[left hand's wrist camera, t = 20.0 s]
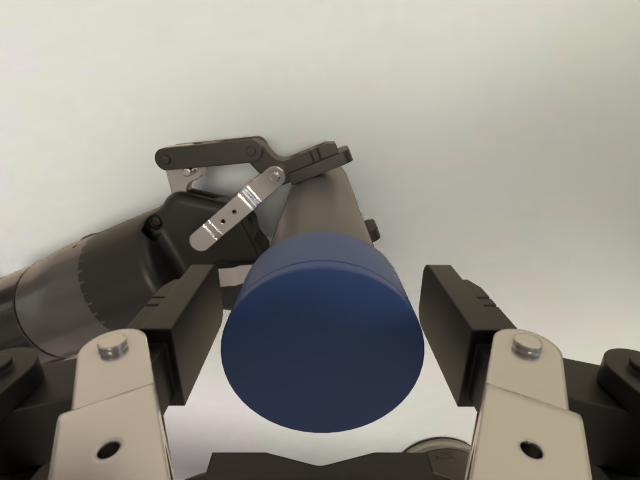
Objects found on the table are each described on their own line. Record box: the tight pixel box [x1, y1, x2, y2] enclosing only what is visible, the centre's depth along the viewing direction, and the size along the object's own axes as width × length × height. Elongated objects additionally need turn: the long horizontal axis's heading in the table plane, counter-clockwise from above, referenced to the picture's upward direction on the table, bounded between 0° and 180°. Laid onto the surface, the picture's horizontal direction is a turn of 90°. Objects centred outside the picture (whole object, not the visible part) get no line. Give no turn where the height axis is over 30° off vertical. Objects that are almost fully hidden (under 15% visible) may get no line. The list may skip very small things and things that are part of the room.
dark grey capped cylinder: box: [270, 166, 374, 247], centre depth 18 cm, size 4×4×19 cm
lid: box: [221, 231, 424, 433], centre depth 10 cm, size 5×5×2 cm
